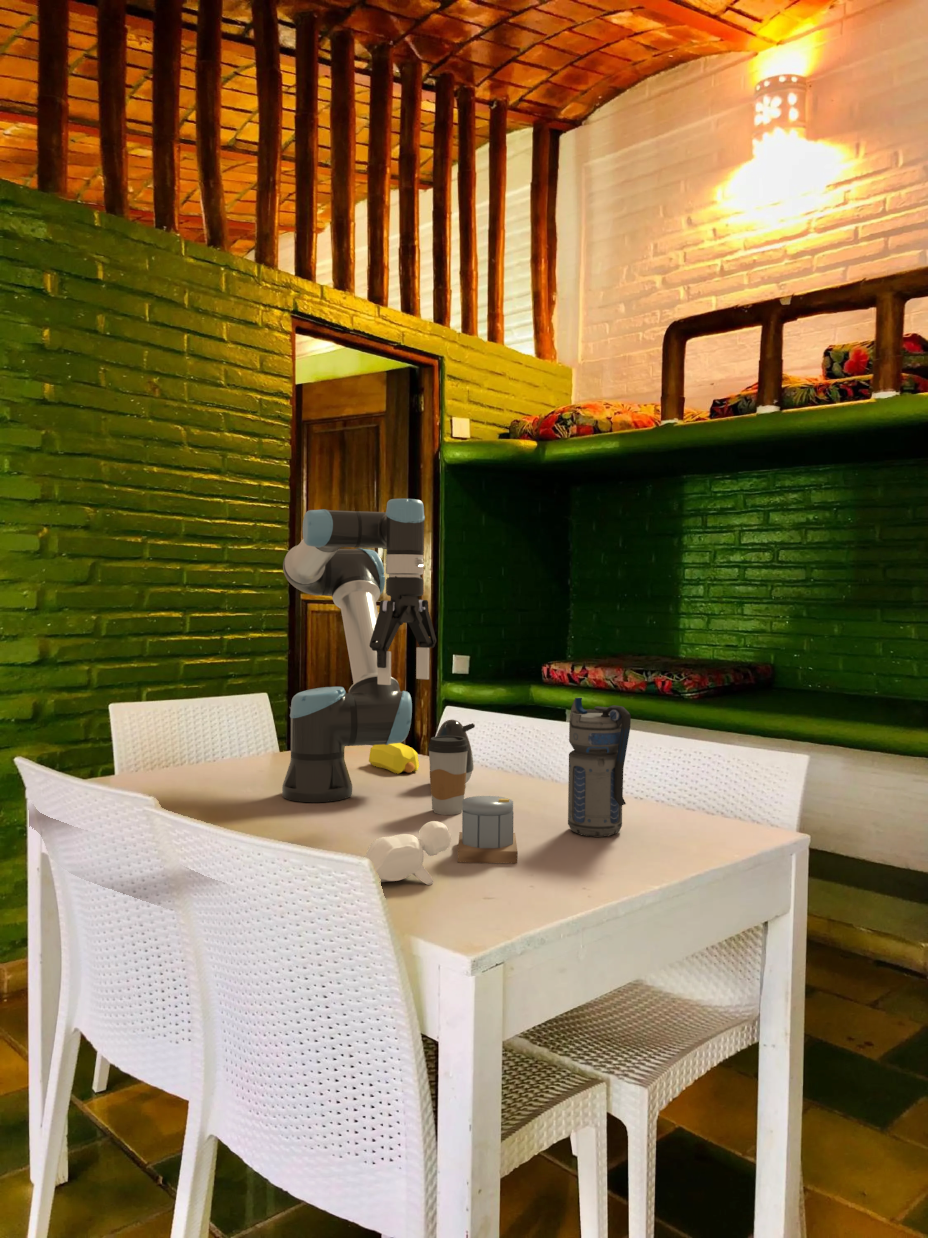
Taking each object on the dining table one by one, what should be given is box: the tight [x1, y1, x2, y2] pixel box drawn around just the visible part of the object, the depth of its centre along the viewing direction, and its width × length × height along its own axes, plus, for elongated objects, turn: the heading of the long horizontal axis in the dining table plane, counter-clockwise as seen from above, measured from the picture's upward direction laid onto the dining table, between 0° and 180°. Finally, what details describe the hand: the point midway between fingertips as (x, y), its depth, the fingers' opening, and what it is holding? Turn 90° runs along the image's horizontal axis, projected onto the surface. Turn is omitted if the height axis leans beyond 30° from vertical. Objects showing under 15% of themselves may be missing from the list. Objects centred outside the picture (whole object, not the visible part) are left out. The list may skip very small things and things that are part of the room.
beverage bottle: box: [567, 697, 632, 837], centre depth 182 cm, size 10×13×25 cm
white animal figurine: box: [363, 820, 452, 886], centre depth 153 cm, size 8×8×15 cm
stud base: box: [457, 831, 518, 864], centre depth 168 cm, size 10×12×7 cm
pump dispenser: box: [435, 719, 476, 785], centre depth 223 cm, size 10×10×15 cm
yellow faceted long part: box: [368, 742, 420, 775], centre depth 242 cm, size 18×7×8 cm
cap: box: [461, 795, 514, 848], centre depth 167 cm, size 9×9×7 cm
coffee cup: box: [427, 736, 469, 816], centre depth 198 cm, size 8×8×15 cm
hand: (404, 681), depth 195 cm, fingers open, 13 cm apart
